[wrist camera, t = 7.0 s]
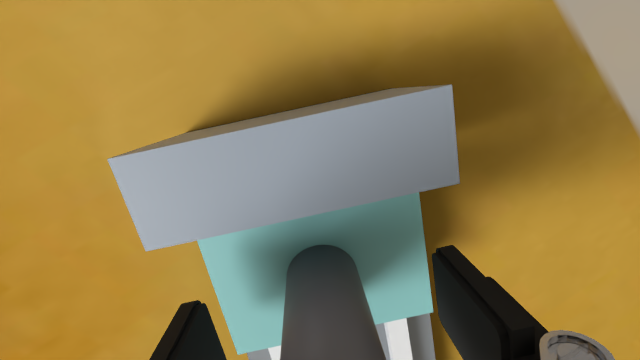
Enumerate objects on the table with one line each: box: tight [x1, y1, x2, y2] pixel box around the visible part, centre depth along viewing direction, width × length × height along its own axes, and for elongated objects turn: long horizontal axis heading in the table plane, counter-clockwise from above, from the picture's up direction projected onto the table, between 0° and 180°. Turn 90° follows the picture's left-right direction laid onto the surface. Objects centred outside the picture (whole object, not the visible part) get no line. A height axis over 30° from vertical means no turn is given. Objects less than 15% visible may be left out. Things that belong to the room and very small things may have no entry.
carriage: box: [197, 192, 433, 360], centre depth 10 cm, size 6×9×8 cm, turn 102°
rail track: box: [108, 85, 460, 360], centre depth 15 cm, size 24×10×6 cm, turn 12°
